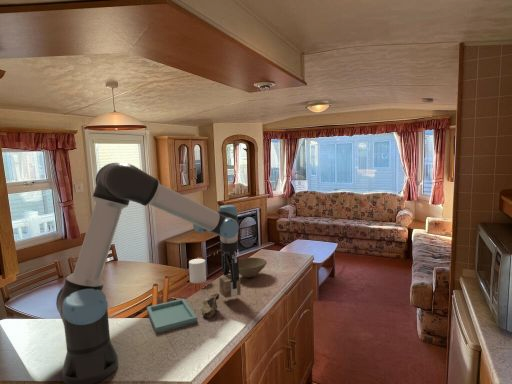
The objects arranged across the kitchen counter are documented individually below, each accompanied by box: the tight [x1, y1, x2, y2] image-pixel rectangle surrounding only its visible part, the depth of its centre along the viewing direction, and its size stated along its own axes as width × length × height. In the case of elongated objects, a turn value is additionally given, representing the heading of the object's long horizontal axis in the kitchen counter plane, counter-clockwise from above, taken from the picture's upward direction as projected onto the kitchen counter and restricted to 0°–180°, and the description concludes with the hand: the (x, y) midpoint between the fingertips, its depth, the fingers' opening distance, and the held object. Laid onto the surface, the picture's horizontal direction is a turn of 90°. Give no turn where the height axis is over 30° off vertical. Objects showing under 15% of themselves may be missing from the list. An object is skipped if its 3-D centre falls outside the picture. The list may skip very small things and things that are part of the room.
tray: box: [146, 298, 198, 334], centre depth 133 cm, size 19×15×2 cm
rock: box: [201, 292, 220, 319], centre depth 135 cm, size 9×7×10 cm
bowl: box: [238, 257, 268, 278], centre depth 173 cm, size 18×18×8 cm
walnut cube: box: [218, 274, 242, 299], centre depth 145 cm, size 7×7×7 cm
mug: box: [188, 258, 207, 284], centre depth 172 cm, size 8×10×12 cm
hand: (230, 292), depth 146 cm, fingers closed on walnut cube, 7 cm apart
